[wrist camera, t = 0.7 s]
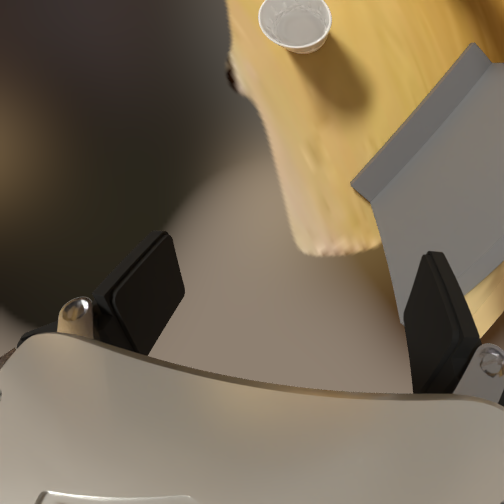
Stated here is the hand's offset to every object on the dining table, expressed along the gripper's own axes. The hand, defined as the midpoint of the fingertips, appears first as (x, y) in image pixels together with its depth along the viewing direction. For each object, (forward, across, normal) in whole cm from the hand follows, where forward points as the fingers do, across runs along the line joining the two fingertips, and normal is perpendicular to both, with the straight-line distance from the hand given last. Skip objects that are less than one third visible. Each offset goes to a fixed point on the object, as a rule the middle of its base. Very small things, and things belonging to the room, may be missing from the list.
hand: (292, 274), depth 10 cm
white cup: (+34, +2, -15) cm, 37 cm away
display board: (+34, -18, -2) cm, 39 cm away
